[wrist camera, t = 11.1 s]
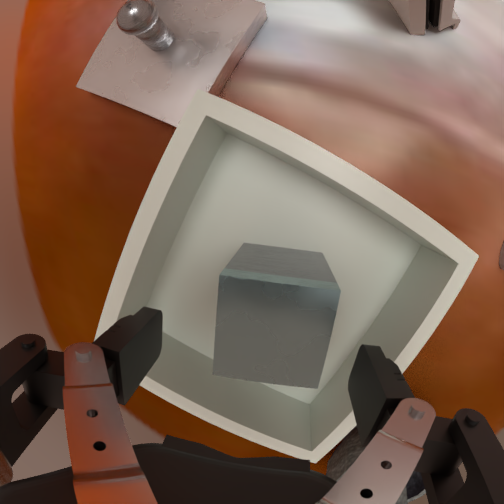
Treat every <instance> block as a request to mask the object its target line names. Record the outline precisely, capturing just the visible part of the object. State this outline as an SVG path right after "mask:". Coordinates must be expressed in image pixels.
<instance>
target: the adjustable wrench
mask: <svg viewBox="0 0 504 504" xmlns="http://www.w3.org/2000/svg"><path fill="white" fill-rule="evenodd" d="M499 266H500V268H501V269H502V270H504V242H503V245H502V248H501V252H500V259H499Z"/></svg>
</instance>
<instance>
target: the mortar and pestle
mask: <svg viewBox="0 0 504 504" xmlns="http://www.w3.org/2000/svg"><path fill="white" fill-rule="evenodd" d="M365 448H366V447H362V446H361V442H360V437H359V433H358V429H357V425H356V426H355V427H354V428H353V429H352V430H351V431H350V432H349V433H348V434H347V435H346V436H345V437H344V440H343V441H342V442H341V444H340V445H339V446H338V447H337V448H336V449H335V451H334V453H333V454H332V456H331V458H330V459H329V461H328V465H327V473H326V476H328V477H330V478H332V479H334V480H335V481H337V482H338V481H339V479H340V478H341V477H342V476H343V475H344V474H345V473H346V471H347V470H348V469H349V468H350V467H351V466H352V464H353V463H354V462H355V461H356V459H357V458H358V457H359V456H360V454H361V453H362V452H363V451H364V449H365ZM425 493H426V491H425V487H424V483H423V480H422V476H421V472H416V471H413V473H412V475H411V477H410V479H409V480H408V482H407V484H406V486H405V488H404V490H403V491H402V493H401V495H400V497H399V498H398V500H397V502H396V503H395V504H408V502H410V501H413V500H415V499H416V498H419V497H421V496H423V495H424V494H425Z"/></svg>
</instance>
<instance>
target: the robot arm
mask: <svg viewBox="0 0 504 504" xmlns="http://www.w3.org/2000/svg"><path fill="white" fill-rule="evenodd" d="M162 325H163V314H162V311H161V310H157V309H153V308H149V307H142V308H141V309H140V310H139V311H138V312H137V313H136V314H135V315H128V316H126V317H123V318H120V319H119V320H118V321H117V322H115V323H114V324H113V326H111V327H110V328H109V329H108V330H106V331H105V332H104V333H103V334H102V335H100V336H99V337H98V338H97V339H96V340H95V341H94V342H93V343H87V342H81V343H75V344H72V345H70V346H69V347H67V348H66V350H65V351H64V352H58V351H52V350H47V347H46V342H45V340H44V338H43V337H41V336H39V335H36V334H25V335H21V336H18V337H16V338H15V339H14V340H12V341H11V342H9V343H8V344H7V345H5V346H4V347H3V348H1V349H0V504H395V503H396V502H397V500H398V498H399V497H400V495H401V493H402V491H403V490H404V488H405V486H406V484H407V482H408V480H409V479H410V477H411V475H412V473H413V471H416V472H421V476H422V480H423V483H424V487H425V491H426V495H427V498H428V502H429V504H504V450H503V448H502V446H501V444H500V443H499V441H498V439H497V437H496V436H495V434H494V432H493V430H492V429H491V427H490V425H489V424H488V422H487V420H486V419H485V417H484V416H483V415H482V414H480V413H479V412H477V411H475V410H472V409H460V410H459V411H458V412H457V413H456V415H455V416H454V418H453V419H448V418H443V417H437V416H436V414H435V410H434V409H433V407H432V406H431V405H430V404H428V403H427V402H425V401H423V400H421V399H417V398H415V397H414V395H413V393H412V391H411V390H410V388H409V386H408V384H407V382H406V381H405V378H404V376H403V375H402V373H401V371H400V369H399V367H398V365H397V364H395V363H394V362H393V361H392V360H391V359H390V358H386V357H385V355H384V353H383V351H382V349H381V347H380V346H375V345H365V344H362V345H361V346H360V348H359V350H358V353H357V356H356V359H355V362H354V365H353V368H352V371H351V373H350V376H349V380H348V392H349V396H350V400H351V404H352V408H353V412H354V416H355V420H356V424H357V429H358V433H359V437H360V442H361V446H362V447H366V448H365V449H364V451H363V452H362V453H361V454H360V456H359V457H358V458H357V459H356V461H355V462H354V463H353V464H352V466H351V467H350V468H349V469H348V470H347V471H346V473H345V474H344V475H343V476H342V477H341V478H340V479H339V481H338V482H337V481H335V480H334V479H332V478H330V477H328V476H326V475H324V474H322V473H319V472H316V471H313V470H310V460H304V459H293V458H283V457H258V458H235V457H232V456H229V455H227V454H224V453H222V452H219V451H217V450H215V449H212V448H210V447H207V446H205V445H203V444H200V443H196V442H192V441H188V440H184V439H180V438H177V437H173V436H169V435H166V437H165V439H164V442H163V444H159V443H147V444H138V445H131V442H130V440H129V436H128V433H127V431H126V428H125V424H124V421H123V418H122V415H121V412H120V408H119V405H118V403H119V404H122V405H125V404H126V403H127V402H128V400H129V399H130V397H131V396H132V395H133V393H134V392H135V390H136V389H137V387H138V386H139V385H140V383H141V382H142V380H143V379H144V377H145V376H146V375H147V373H148V372H149V370H150V369H151V368H152V366H153V365H154V363H155V362H156V361H157V359H158V358H159V356H160V353H161V349H162ZM21 384H22V385H23V388H24V392H23V393H22V394H21V395H20V396H19V397H18V398H17V399H16V400H15V401H14V402H13V403H11V398H12V395H13V393H14V391H15V390H16V389H17V388H18V387H19V386H20V385H21ZM58 408H59V409H64V413H65V423H66V431H67V439H68V446H69V452H70V458H71V464H72V466H71V467H67V468H64V469H60V470H57V471H54V472H50V473H46V474H42V475H38V476H34V477H30V478H27V479H22V480H17V481H13V482H11V480H12V477H13V470H12V466H13V465H14V463H15V462H16V460H17V459H18V458H19V457H20V455H21V454H22V453H23V451H24V450H25V449H26V447H27V446H28V445H29V444H30V443H31V441H32V440H33V438H34V437H35V436H36V435H37V434H38V432H39V431H40V430H41V429H42V427H43V426H44V425H45V424H46V422H47V421H48V420H49V419H50V417H51V416H52V415H53V414H54V413H55V411H56V410H57V409H58ZM462 462H463V464H464V466H465V469H466V471H467V478H466V481H465V483H464V482H463V479H462V477H461V474H460V471H459V469H458V467H459V466H460V465H461V463H462Z"/></svg>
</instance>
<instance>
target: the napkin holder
mask: <svg viewBox="0 0 504 504" xmlns="http://www.w3.org/2000/svg"><path fill="white" fill-rule="evenodd" d="M454 1H455V0H389V2H390V3H391V5H392V6H393V7H394V9H395V11H396V12H397V14H398V15H399V17H400V18H401V20H402V21H403V23H404V25H405V26H406V28H407V30H408V31H409V33H410V34H412V35H425V29H428V22H429V21H430V23H431V25H432V26H433V27H437V28H438V29H439V31H440V30H442V29H444V28H447V27H449V26H451V27H452V28H453V29H456V28H457V27H458V25H459V23H460V19H459V17H458V15H457V14H456V12H455V11H454V9H453V8H454Z"/></svg>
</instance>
